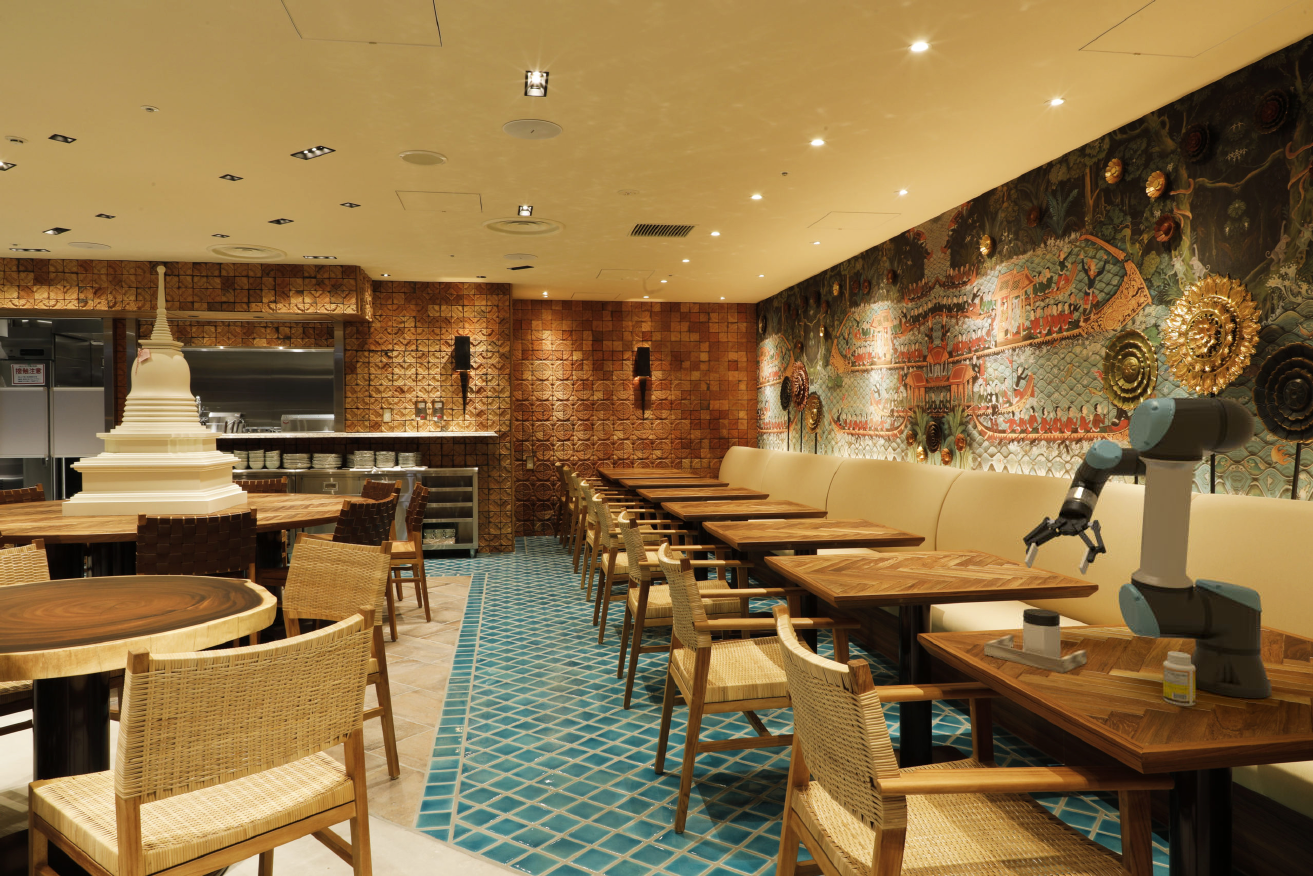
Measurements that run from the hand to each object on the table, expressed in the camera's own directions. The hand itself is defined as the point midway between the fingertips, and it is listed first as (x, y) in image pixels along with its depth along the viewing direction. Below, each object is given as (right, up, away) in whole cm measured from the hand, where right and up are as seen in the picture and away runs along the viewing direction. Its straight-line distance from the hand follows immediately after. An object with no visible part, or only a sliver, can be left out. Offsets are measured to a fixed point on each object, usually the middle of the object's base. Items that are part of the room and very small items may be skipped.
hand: (1053, 568), depth 194 cm
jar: (-7, -22, -8) cm, 24 cm away
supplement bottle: (+6, -22, -38) cm, 44 cm away
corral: (-8, -22, -7) cm, 24 cm away
